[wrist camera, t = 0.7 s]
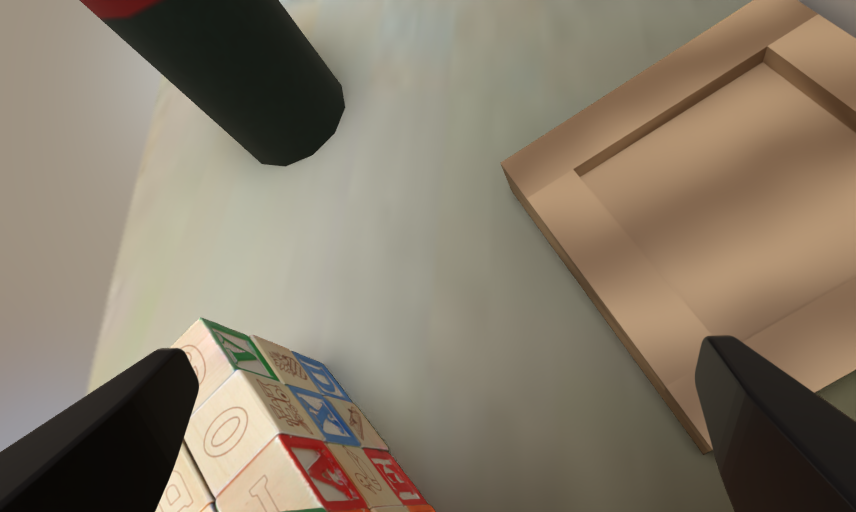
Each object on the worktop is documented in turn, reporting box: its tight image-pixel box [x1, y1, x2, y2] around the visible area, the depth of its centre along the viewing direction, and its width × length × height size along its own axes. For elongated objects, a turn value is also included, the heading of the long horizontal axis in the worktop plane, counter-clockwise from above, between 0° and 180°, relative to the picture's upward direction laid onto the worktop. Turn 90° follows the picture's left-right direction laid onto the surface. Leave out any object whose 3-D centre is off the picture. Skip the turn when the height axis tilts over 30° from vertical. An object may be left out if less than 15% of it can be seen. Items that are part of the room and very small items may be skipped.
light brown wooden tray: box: [501, 0, 856, 455], centre depth 23 cm, size 15×15×3 cm
